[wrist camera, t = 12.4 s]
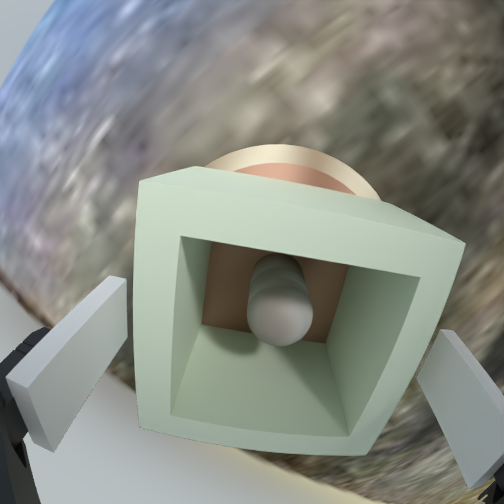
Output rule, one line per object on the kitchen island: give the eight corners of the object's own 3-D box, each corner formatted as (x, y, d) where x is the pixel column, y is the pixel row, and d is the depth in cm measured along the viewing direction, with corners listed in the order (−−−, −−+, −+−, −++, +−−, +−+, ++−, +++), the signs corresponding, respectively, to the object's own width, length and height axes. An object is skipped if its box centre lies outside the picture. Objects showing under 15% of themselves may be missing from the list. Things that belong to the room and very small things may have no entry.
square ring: (389, 203, 17) (465, 243, 9) (340, 363, 20) (365, 455, 13) (195, 166, 17) (139, 180, 9) (177, 338, 20) (139, 427, 13)
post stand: (414, 175, 18) (483, 193, 11) (352, 373, 23) (375, 446, 16) (174, 128, 18) (120, 118, 11) (155, 342, 23) (119, 412, 15)
